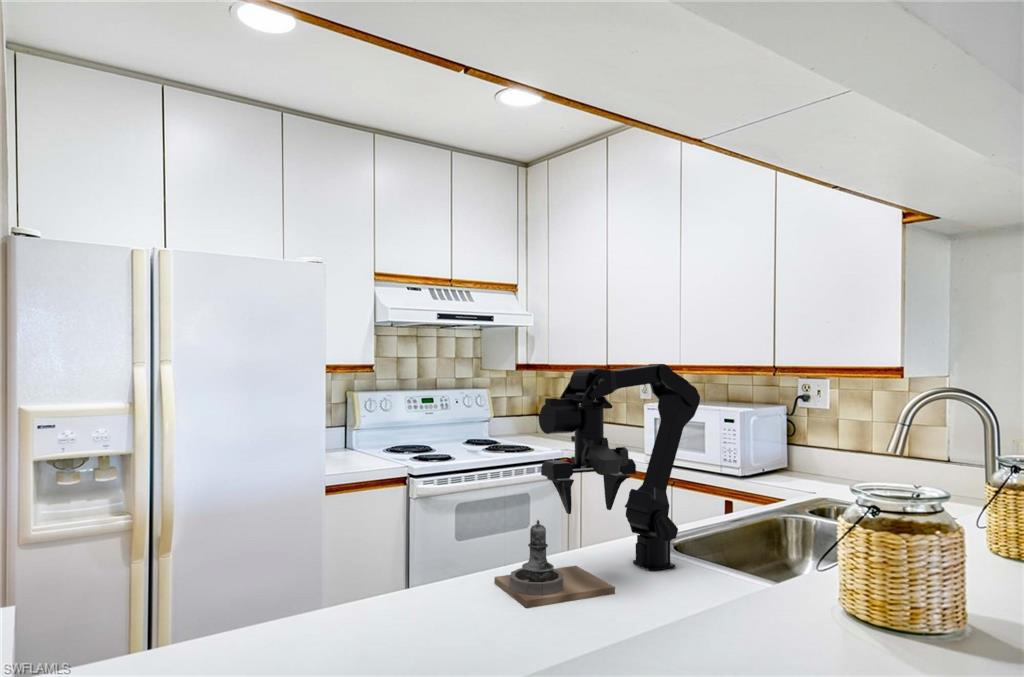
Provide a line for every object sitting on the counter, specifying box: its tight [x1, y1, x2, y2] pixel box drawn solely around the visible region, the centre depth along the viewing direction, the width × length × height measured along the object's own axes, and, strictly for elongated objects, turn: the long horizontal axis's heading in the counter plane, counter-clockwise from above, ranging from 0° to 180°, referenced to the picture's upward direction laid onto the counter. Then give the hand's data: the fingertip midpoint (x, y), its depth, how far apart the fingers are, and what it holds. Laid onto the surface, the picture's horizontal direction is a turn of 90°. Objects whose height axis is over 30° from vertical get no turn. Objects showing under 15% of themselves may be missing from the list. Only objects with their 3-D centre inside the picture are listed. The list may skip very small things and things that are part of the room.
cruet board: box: [494, 565, 616, 609], centre depth 119 cm, size 18×14×3 cm
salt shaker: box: [521, 519, 555, 582], centre depth 117 cm, size 6×6×12 cm
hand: (589, 511), depth 125 cm, fingers open, 9 cm apart
